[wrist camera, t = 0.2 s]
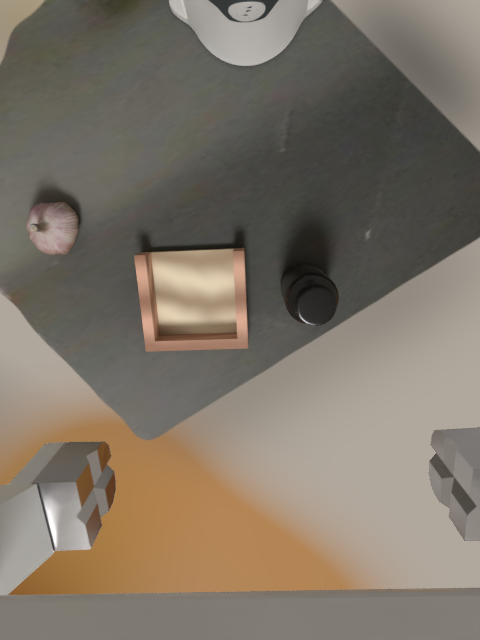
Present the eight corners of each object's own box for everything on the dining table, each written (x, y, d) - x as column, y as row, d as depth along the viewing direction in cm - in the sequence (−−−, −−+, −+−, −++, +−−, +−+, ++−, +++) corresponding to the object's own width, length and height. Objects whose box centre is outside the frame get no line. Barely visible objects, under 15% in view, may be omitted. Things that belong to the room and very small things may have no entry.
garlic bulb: (72, 193, 54) (42, 190, 46) (95, 242, 56) (70, 248, 48) (26, 212, 55) (-11, 213, 47) (50, 260, 57) (18, 268, 49)
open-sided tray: (142, 252, 56) (134, 255, 52) (244, 247, 55) (244, 250, 51) (152, 342, 60) (146, 351, 56) (248, 339, 59) (248, 348, 55)
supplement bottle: (270, 286, 57) (275, 306, 45) (304, 253, 55) (317, 264, 43) (303, 317, 58) (315, 344, 46) (336, 285, 56) (358, 305, 45)
